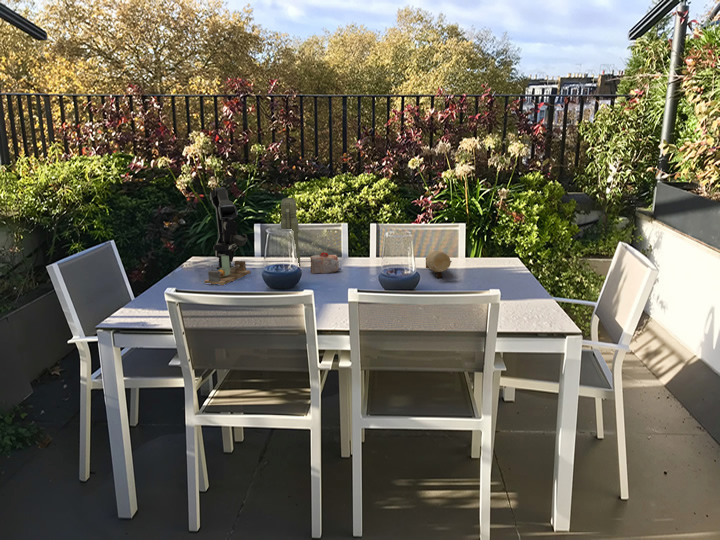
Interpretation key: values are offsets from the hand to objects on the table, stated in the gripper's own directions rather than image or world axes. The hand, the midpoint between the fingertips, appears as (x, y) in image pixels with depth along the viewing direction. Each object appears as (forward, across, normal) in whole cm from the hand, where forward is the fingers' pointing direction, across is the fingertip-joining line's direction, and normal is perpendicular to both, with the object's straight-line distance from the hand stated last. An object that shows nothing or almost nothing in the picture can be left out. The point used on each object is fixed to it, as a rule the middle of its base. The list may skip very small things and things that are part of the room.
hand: (231, 261), depth 290 cm
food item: (+8, +21, -40) cm, 45 cm away
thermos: (+8, +28, -18) cm, 34 cm away
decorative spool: (+7, +30, -94) cm, 99 cm away
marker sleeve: (+5, -6, 0) cm, 8 cm away
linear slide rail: (+7, -4, 0) cm, 8 cm away
